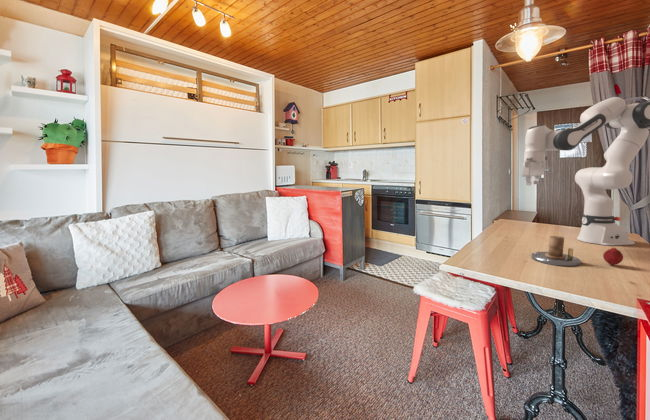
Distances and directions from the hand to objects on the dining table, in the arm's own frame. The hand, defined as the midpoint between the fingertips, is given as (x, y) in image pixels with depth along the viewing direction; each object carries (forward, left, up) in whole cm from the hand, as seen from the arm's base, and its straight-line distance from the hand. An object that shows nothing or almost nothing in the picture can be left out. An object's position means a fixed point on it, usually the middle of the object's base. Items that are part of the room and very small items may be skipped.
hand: (532, 184), depth 153 cm
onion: (-15, +35, -31) cm, 49 cm away
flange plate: (+3, +29, -31) cm, 43 cm away
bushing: (+3, +29, -30) cm, 42 cm away
